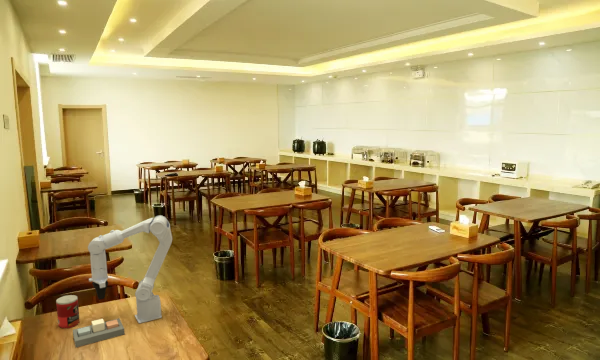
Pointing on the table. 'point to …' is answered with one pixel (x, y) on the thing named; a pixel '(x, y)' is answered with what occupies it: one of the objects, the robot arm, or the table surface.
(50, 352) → the table surface
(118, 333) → the keypad base
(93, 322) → the key ivory
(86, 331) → the key slate
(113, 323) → the key terracotta
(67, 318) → the canned food
